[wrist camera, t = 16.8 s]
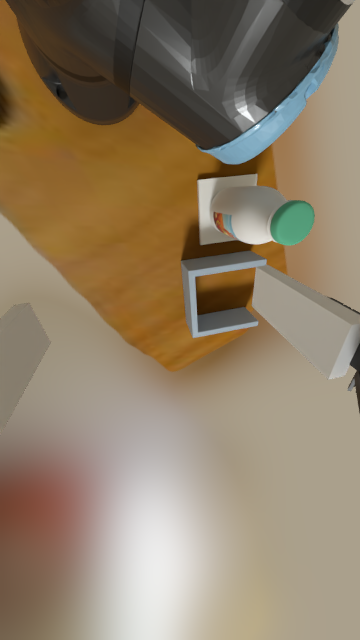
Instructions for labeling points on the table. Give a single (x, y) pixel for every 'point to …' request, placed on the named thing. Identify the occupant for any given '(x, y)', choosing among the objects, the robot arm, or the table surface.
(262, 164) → the table surface
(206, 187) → the tile
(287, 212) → the milk bottle
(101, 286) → the table surface
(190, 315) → the grey u-shaped piece
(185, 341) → the table surface
